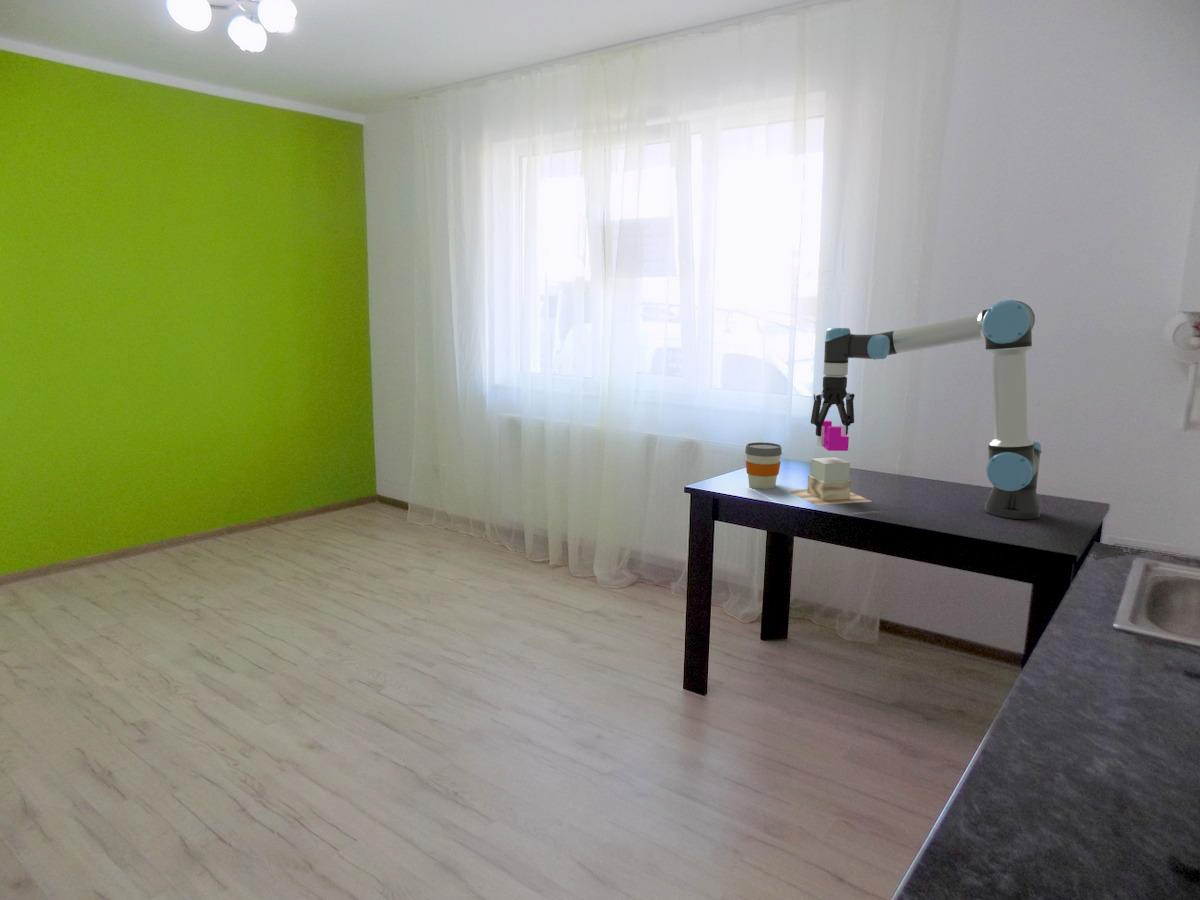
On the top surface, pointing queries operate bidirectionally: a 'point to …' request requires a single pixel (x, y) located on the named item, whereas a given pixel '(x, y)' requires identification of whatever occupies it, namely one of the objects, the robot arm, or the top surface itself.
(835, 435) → the toy block
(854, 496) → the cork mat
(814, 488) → the tower base
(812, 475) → the tower top
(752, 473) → the reusable coffee cup
